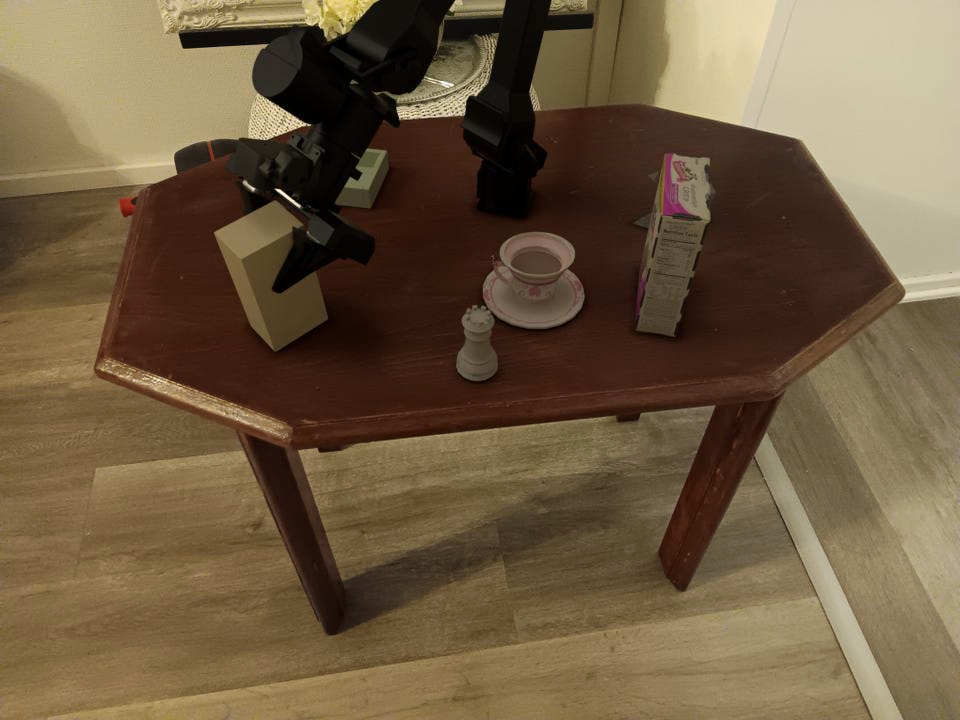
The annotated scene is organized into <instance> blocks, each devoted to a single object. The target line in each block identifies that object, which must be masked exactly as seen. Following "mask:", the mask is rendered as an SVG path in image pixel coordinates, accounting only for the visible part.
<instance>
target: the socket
mask: <svg viewBox="0 0 960 720" xmlns="http://www.w3.org/2000/svg"><path fill="white" fill-rule="evenodd" d="M352 154H353V153H352ZM353 155H354V154H353ZM355 156H356V155H355ZM356 157H357V156H356ZM358 158H359V157H358ZM359 159H360V158H359ZM356 169H358V170H359V171H361V172H362V173H363V174H362V175H361V177H360V179H359V180H358V181H356V180H354V179H353V178H351V177H350V178H349V180H348V181H347V183H346V185H345V187H344V188H343V190H342V192H341V193H340V195H339V197H338V198H337V200H336V202H335V203H336V204H338V205H339V206H345V207H354V208H360V209H361V208H362V209H370V210H371V209H372V207H373V205H374V202H375V200H376V198H377V196H378V194H379V191H380V189H381V187H382V186H383V183H384V181H385V178H386V176H387V174H388V172H389V169H390V168H389V155H388V150H385V149H375V148H367V150H366V151H365V153H364V155H363V156H362V158H361V159H360V161H359V163H358V165H357V166H356ZM293 196H296V195H295V194H293V195H292V197H293ZM296 197H297V196H296Z"/></svg>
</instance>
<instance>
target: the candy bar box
mask: <svg viewBox="0 0 960 720" xmlns="http://www.w3.org/2000/svg"><path fill="white" fill-rule="evenodd" d="M710 182H711V159H710V157H704V156H698V157H697V156H693V155H687V154H681V155H680V154H679V153H669V152H667V153H664V156H663V160H662V164H661V170H660V175H659V179H658V182H657V183H658V184H657V188H656V192H655V198H654V202H653V206H652V211H651V213H652V216H651V220H650V225H649V228H647V229H648V230H647V234H646V240H645V244H644V249H643V253H642V258H641V262H640V267H639V273H638V283H637V297H636V307H635V321H634V323H635V324H634V331H635V332H639V333H644V334H652V335H657V336H658V335H659V336H665V337H671V338H676V337H677V335H678V334H677V333H678V330H679V327H680V324H681V320H682V318H683V313H684V311H685V307H686V304H687V300H688V297H689V293H690V290H691V287H692V283H693V279H694V276H695V273H696V269H697V266H698V263H699V260H700V257H701V253H702V249H703V245H704V243H705V238H706V235H707V232H708V228H709V227H710V226H709V225H710V222H711V205H710Z"/></svg>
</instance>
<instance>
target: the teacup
mask: <svg viewBox="0 0 960 720" xmlns="http://www.w3.org/2000/svg"><path fill="white" fill-rule="evenodd" d="M575 257H576V251H575V248H574V246H573V244H572V243H570V241H568V240H567V239H566V238H564V237H562V236H559V235H557V234H554V233H550V232H546V231H545V232H544V231H529V232H528V231H527V232H523V233H522V232H521V233H519V234H516V235H513V236H511V237H510V238H508V239H506V241H504V242H503V243H502V245H501V246H500V248H499V258H500V260H496V261H493V262H492V266H493V270H492V271H491V272H490V273H489V274H488V275H486V278H485V280H484V282H483V285H482V299H483V302H484V303H485V305H486V308H487V309H488V310H490V312H491V314H492V315H494V316H495V317H496V318H497V319H499V320H501V321H503V322H504V323H507V324H508V325H510V326H514V327H518V328H523V329H527V330H547V329H551V328H555V327H559V326H562V325H565V324H566V323H567V322H569V321H571V320H573V319H574V318H575V317H576V316H577V315H578V314H579V313H580V311H581V310H582V308H583V305H584V301H585V298H586V296H585V290H584V289H585V288H584V285H583V283H582V282H581V280H580V279H579V277H578V276H577V275H576V274H575V273H574V272H572V271H571V270H570V269H569V268H570V266H571V265H573V262H574V261H575Z"/></svg>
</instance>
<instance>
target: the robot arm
mask: <svg viewBox="0 0 960 720" xmlns="http://www.w3.org/2000/svg"><path fill="white" fill-rule="evenodd" d="M455 2H456V0H376V1H374V2H373V3H372V4H371V5H370V6H369V8H367V10H366V11H365V12H364V13H363V14H362V15H361V17H360V18H359V19H358V20H357V21H356V22H355V23H354V24H353V26H352V27H351V28H350V30H349V31H347V32H345V33H343V34H341V35H338V36H337V37H334V38H333V39H331V40H328V41H326V42H324V43H321V42H320V40H319V39H318V38H317V37H316V36H315V35H314V34H312V33H311V32H310V31H309V30H307V29H305V28H304V27H301V26H300V25H299V24H292V26H291V28H290V30H289V31H288V33H287V34H285V35H280V36H278V37H276V38H273V40H271V41H270V42H269V43H268V44H267V45H266V46H265V47H263V48H260V50H259V52H258V53H257V55H256V58H255V60H254V62H253V67H252V72H251V73H252V74H251V81H252V85H253V88H254V90H255V92H256V93H257V94H258V95H259V96H261V97H263V98H264V99H266V100H267V101H269V102H271V103H272V104H274V105H275V106H277V107H279V108H280V109H281V110H283V111H285V112H286V113H288V114H289V115H291V116H293V117H294V118H296V119H297V120H299V121H301V122H302V123H304V124H306V125H310V126H309V127H308V129H307V130H306V132H305V134H303V133H302V132H300V131H299V130H296V131H295V132H293V133H292V134H290V136H289V138H288V139H287V141H286V142H278V141H275V140H269V139H268V140H267V139H261V138H251V137H238V140H237V143H236V150H233V151H232V153H231V154H230V156H229V158H228V159H227V161H226V163H225V165H224V168H225V169H226V170H228V171H229V172H230V173H231V174H232V175H234V176H235V177H237V179H240V180H243V181H242V182H241V181H239V180H235V185H236V187H237V189H238V190H239V193H240V196H241V198H242V201H243V204H244V209H243V217H244V216H246V215H248V214H250V213H252V212H254V211H256V210H258V209H260V208H262V207H263V206H265V205H267V204H269V203H271V202H273V201H275V200H276V201H277V202H279V203H280V204H281V205H282V206H283V207H284V208H285V209H286V210H288V211H289V212H290V213H291V212H292V210H293V212H295V213H297V214H298V215H300V216H301V218H303V219H304V220H305V221H307V231H306V230H305V231H306V232H305V231H303V230H300V229H298V228H296V227H294V226H293V227H292V232H293V241H294V244H293V247H292V249H291V250H290V252H289V254H288V256H287V258H286V260H285V262H284V264H283V265H282V267H281V269H280V271H279V273H278V275H277V277H276V279H275V281H274V284H273V286H272V291H273V292H275V293H279V294H281V293H282V292H284V291H286V290H287V289H289V288H290V287H292V286H293V285H295V284H296V283H298V282H299V281H301V280H302V279H304V278H305V277H307V276H308V275H310V274H312V273H313V272H315V271H316V272H317V271H318V270H320V269H322V268H325V266H327V265H329V264H331V263H333V262H335V261H337V260H339V259H340V260H342V261H346V260H347V259H350V260H352V261H355V262H356V263H359V264H362V265H364V266H367V264H368V263H369V262H370V260H371V258H372V256H373V255H374V254H375V251H376V238H375V237H374V236H373V235H371V233H369V232H368V231H366V230H365V229H363V228H362V227H361V226H360V225H358V224H357V223H355V222H354V221H352V220H350V219H348V218H346V217H344V216H342V215H340V212H341V211H342V209H343V207H342V206H341V205H338V204H336V203H335V202H336V200H337V198H338V197H339V195H340V193H341V192H342V190H343V188H344V187H345V185H346V183H347V181H348V180H349V178H350V177H351V178H353V179H354V180H356V181H358V180H359V179H360V177H361V175H362V174H363V173H362V172H361V171H359V170H358V169H356V166H357V165H358V163H359V161H360V159H361V158H362V156H363V155H364V153H365V151H366V150H367V149H369V146H370V145H371V142H372V141H373V140H374V138H375V136H376V134H377V133H378V131H379V130H380V128H381V126H382V124H383V122H385V123H387V124H388V125H390V126H391V127H393V128H395V129H398V128H399V127H401V119H400V115H399V112H398V109H397V104H398V102H397V101H398V100H396V98H394V97H392V96H402V95H405V94H409V95H410V94H412V93H413V92H414V91H415V90H416V89H417V88H418V87H419V86H420V84H421V83H422V81H423V80H424V78H425V76H426V74H427V72H428V70H429V68H430V67H431V64H432V62H433V60H434V58H435V57H436V55H437V52H438V48H439V35H440V27H441V26H442V23H443V21H444V19H445V17H446V15H447V14H448V12H449V11H450V10H451V8H452V6H453V5H454V3H455ZM552 2H553V0H505V2H504V7H503V11H502V15H501V19H500V20H501V21H500V26H499V31H498V35H497V40H496V44H495V49H494V53H493V59H492V64H491V69H490V73H489V78H488V81H487V83H486V84H485V85H484V87H483V88H481V90H480V91H479V92H478V93H477V95H472V94H470V95H468V96H467V99H466V101H465V110H464V116H463V119H462V121H461V123H460V128H461V129H463V130H462V139H463V141H464V142H465V144H466V145H467V147H468V148H469V149H470V151H471V154H472V155H473V156H475V157H477V158H480V159H482V161H480V162H481V163H480V166H479V167H478V169H477V171H476V198H477V199H478V202H477V204H476V210H477V211H479V212H485V213H491V214H494V215H495V214H496V215H501V216H504V217H505V216H506V217H511V218H516V219H524V217H525V215H526V213H527V210H528V208H529V206H530V203H531V201H532V199H533V196H534V195H535V189H534V188H533V187H532V186H533V179H534V178H536V177H537V176H538V172H539V171H540V170H543V169H544V167H545V164H546V160H547V157H548V154H549V153H548V151H547V150H546V149H544V148H543V147H542V146H541V145H540V144H539V143H537V142H536V141H535V140H534V136H535V135H534V134H535V127H536V114H535V110H534V106H533V102H532V101H533V100H532V97H531V86H532V83H533V79H534V75H535V70H536V66H537V62H538V59H539V54H540V51H541V46H542V42H543V38H544V35H545V30H546V25H547V22H548V19H549V18H548V16H549V14H550V9H551V5H552ZM353 82H354V83H353ZM386 92H387V93H388V94H390V95H392V96H390V95H388V94H387V93H386ZM377 93H378V94H377ZM352 153H353V154H354V155H353V154H352ZM355 155H356V156H357V157H356V156H355ZM358 157H359V158H360V159H359V158H358ZM293 194H295V195H296V196H297V197H296V196H293V197H292V195H293ZM282 202H283V203H284V204H286V206H285V205H284V204H283V203H282ZM287 206H288V207H289V208H291V209H289V208H288V207H287Z"/></svg>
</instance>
